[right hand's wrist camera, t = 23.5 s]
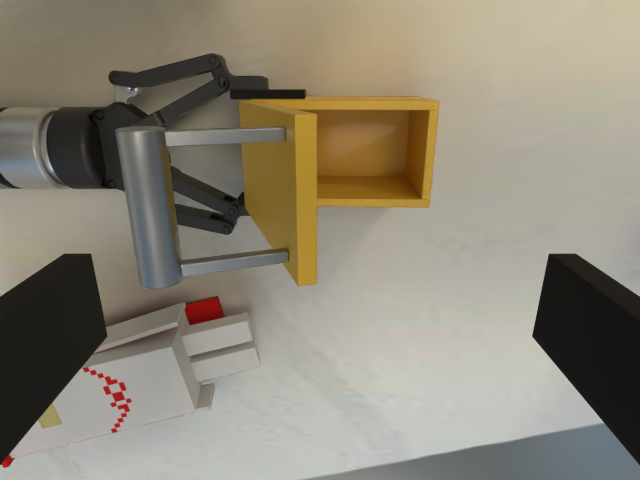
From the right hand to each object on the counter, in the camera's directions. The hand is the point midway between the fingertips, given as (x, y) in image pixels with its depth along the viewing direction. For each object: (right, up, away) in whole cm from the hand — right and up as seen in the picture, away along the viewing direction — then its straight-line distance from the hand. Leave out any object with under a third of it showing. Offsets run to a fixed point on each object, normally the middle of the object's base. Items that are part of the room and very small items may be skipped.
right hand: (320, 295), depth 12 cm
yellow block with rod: (-3, +6, +17) cm, 18 cm away
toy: (-23, -11, +43) cm, 50 cm away
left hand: (-1, +10, +28) cm, 30 cm away
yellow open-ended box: (+2, +12, +34) cm, 36 cm away
